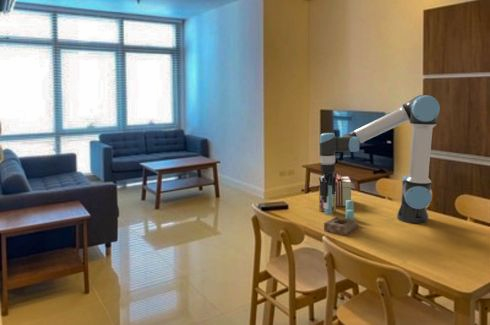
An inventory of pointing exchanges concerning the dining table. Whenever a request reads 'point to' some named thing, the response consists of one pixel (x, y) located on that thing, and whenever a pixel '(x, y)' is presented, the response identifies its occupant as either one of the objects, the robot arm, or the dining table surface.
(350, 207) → the medium dowel
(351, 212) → the short dowel
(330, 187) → the long dowel
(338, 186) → the gift box
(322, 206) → the candy box
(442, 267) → the dining table surface
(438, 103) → the robot arm
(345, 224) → the walnut block
